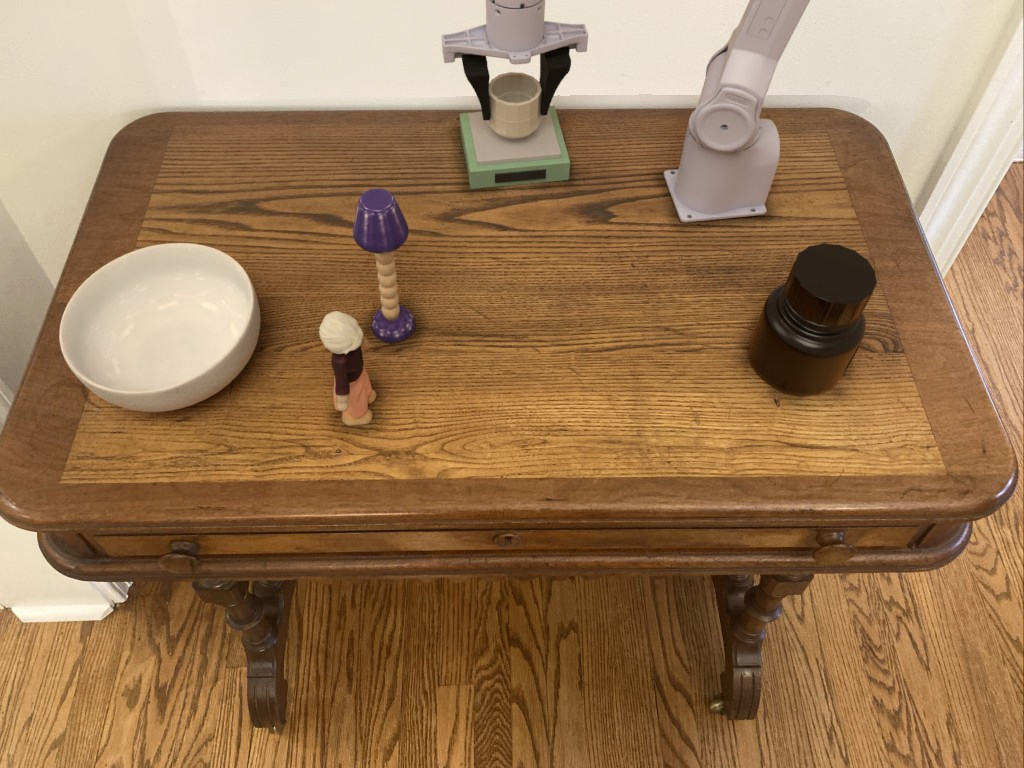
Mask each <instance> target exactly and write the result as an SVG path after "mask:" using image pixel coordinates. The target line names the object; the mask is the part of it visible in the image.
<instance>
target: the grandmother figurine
mask: <svg viewBox="0 0 1024 768" xmlns="http://www.w3.org/2000/svg"><path fill="white" fill-rule="evenodd" d="M318 334H319V339H320V340H321V342H322V345H323V346H324V347H325V348H326V349H327V350H328V351H329V352H331V353H332V354H331V362H330V363H331V365H330V366H331V367H332V370H333V374H334V379H333V394H332V395H333V405H334V409H335V410H336V411H339V412H340V413H341V421H342V423H343V424H344V425H345V426H348V427H349V426H350V427H351V426H363V425H367V424H369V423H371V422H372V420H373V411H372V410H371V409H369V405H370V404H372V403H374V402H375V400H376V398H377V391H375V390H374V389H373V387H372V384H371V380H370V377H369V373H368V372H367V370H366V369H365V367H364V365H365V362H364V357H363V356H364V355H363V350H362V349H365V348H367V346H368V344H369V343H368V339H367V338H366V337H365V336H364V332H363V329H362V328H361V326H360V325H359V322H358V321H357V319H356V318H354V317H353V316H351V315H350V314H347V313H345V312H342V311H339V310H338V311H337V310H334V311H331V312H329V313H327V314H326V315H325V316H324V318H323V319H322V321H321V324H320V326H319V330H318Z"/></svg>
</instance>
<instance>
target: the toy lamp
mask: <svg viewBox="0 0 1024 768" xmlns="http://www.w3.org/2000/svg"><path fill="white" fill-rule="evenodd" d="M409 231H410V230H409V225H408V222H407V220H406V217H405V215H404V213H403V210H402V209H401V207H400V205H399V203H398V201H397V198H396V197H395V195H394V194H393V193H392V192H391V191H389V190H387V189H386V188H379V187H374V188H370V189H368V190H366V191H364V192H363V193H362V194H361V195H360V196H359V199H358V201H357V205H356V209H355V216H354V220H353V225H352V236H353V240H354V242H355V243H356V245H357V246H358V247H359V248H361V249H362V250H363V251H366V252H367V253H371V254H374V258H375V260H376V261H375V268H376V270H377V281H378V292H379V294H380V297H379V300H380V304H381V307H379V309H377V311H376V312H375V313H374V315H373V317H372V320H371V324H370V325H371V328H370V329H371V331H372V333H373V335H374V337H375V338H377V339H378V340H379V341H381V342H383V343H389V344H395V343H396V344H397V343H400V342H403V341H405V340H408V339H409V338H410V337H411V336H412V335H413V334H414V332H415V330H416V326H417V325H416V323H417V322H416V319H415V317H414V315H413V313H412V312H411V311H410V310H409V309H408V308H407V307H406V306H403V305H402V304H400V303H399V302H400V297H399V293H398V291H399V285H398V282H397V281H398V275H397V274H398V273H397V270H396V261H395V250H398V249H400V248H401V247H403V245H404V244H405V243H406V241H407V239H408V237H409Z"/></svg>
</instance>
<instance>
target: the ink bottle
mask: <svg viewBox="0 0 1024 768" xmlns="http://www.w3.org/2000/svg"><path fill="white" fill-rule="evenodd" d="M877 285H878V281H877V275H876V269H875V268H874V267H873V266H872V264H871V263H870V262H869V260H868V259H867V258H865V257H864V256H863V255H861V254H860V253H859V252H857V250H856V249H852V248H849V247H846V246H844V245H841V244H833V243H827V242H826V243H825V242H822V243H819V244H815V245H814V244H813V245H808V246H807V247H806V248H805V249H803V250H801V251H799V252H798V253H797V256H796V258H795V259H794V261H793V264H792V266H791V269H790V271H789V274H788V276H787V279H786V280H785V282H783V283H782V284H780V285H778V286H776V287H775V288H774V289H773V290H772V291H771V292H770V293H769V294H768V296H767V297H766V299H765V301H764V303H763V305H762V308H761V311H760V313H759V316H758V318H757V320H756V324H755V327H754V330H753V332H752V334H751V337H750V340H749V343H748V356H749V361H750V363H751V365H752V367H753V368H754V370H755V372H756V373H757V374H758V376H760V377H761V378H762V379H763V380H764V381H765V382H766V383H768V384H769V385H770V386H772V387H773V388H775V389H777V390H779V391H781V392H784V393H786V394H789V395H793V396H800V397H801V396H803V397H804V396H805V397H806V396H813V395H819V394H822V393H824V392H827V391H828V390H830V389H831V388H833V387H834V386H835V385H836V384H838V383H839V382H840V380H841V379H842V377H843V376H844V374H845V373H846V372H847V370H848V368H849V367H850V364H851V362H852V361H853V360H854V357H855V355H856V353H857V352H858V350H859V348H860V345H861V344H862V341H863V339H864V337H865V333H866V329H867V321H866V316H865V313H864V311H865V309H866V307H867V305H868V303H869V301H870V299H871V297H872V296H873V294H874V290H875V289H876V286H877Z"/></svg>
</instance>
